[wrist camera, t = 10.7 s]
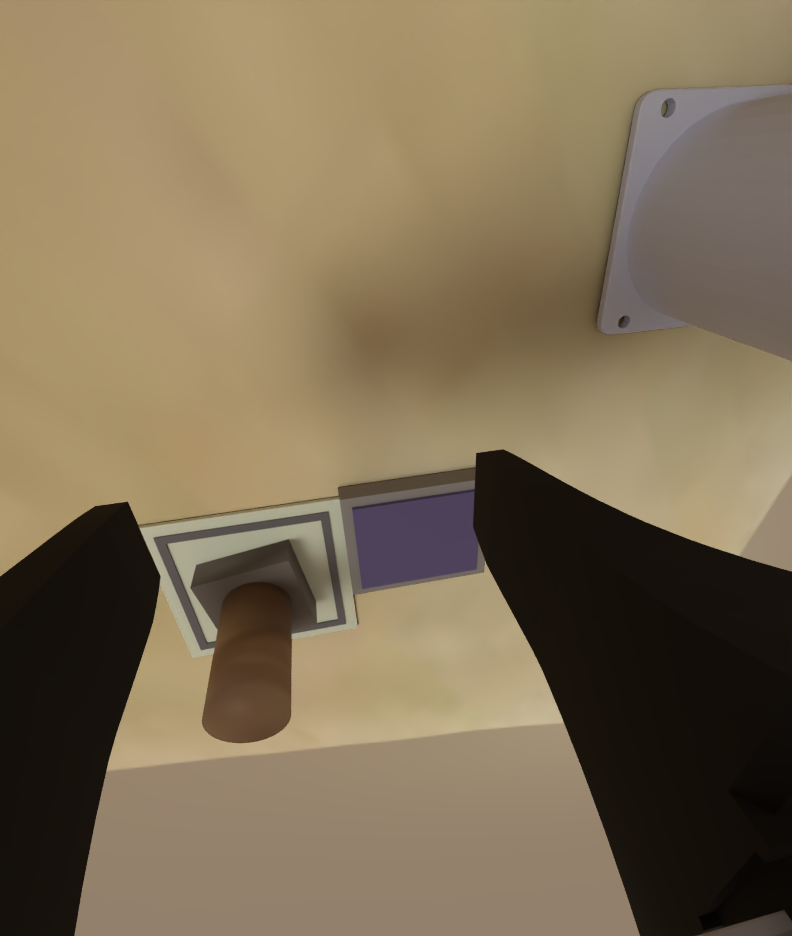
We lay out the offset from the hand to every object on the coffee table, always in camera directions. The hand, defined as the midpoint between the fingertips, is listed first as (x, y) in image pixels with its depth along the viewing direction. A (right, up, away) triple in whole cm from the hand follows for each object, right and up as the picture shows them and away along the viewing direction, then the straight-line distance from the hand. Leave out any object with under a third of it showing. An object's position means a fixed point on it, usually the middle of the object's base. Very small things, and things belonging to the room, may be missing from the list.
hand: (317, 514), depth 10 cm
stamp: (-5, -5, +13) cm, 15 cm away
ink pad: (+3, -2, +14) cm, 14 cm away
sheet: (-5, -5, +14) cm, 15 cm away
